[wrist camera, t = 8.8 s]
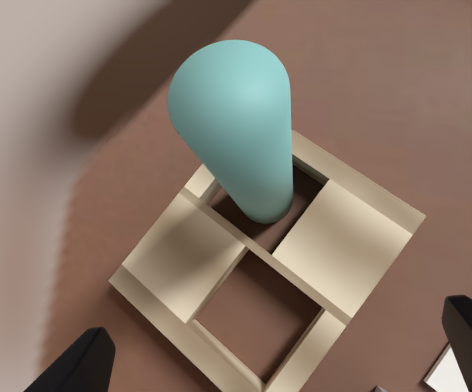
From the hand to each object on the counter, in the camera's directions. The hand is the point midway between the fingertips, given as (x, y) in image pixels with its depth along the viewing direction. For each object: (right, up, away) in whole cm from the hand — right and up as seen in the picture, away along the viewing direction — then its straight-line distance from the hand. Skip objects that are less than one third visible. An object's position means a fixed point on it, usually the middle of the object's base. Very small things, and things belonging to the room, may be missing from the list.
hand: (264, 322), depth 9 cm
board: (+1, 0, +12) cm, 12 cm away
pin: (+1, +3, +13) cm, 13 cm away
